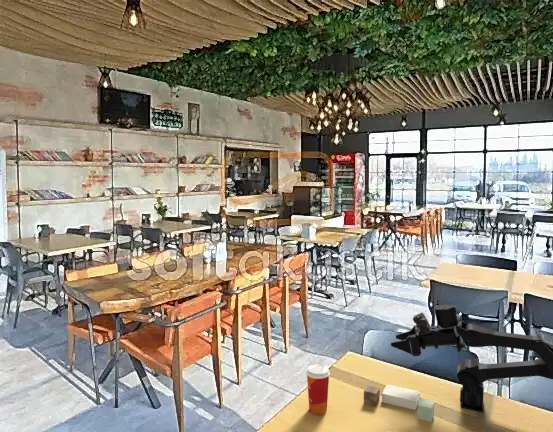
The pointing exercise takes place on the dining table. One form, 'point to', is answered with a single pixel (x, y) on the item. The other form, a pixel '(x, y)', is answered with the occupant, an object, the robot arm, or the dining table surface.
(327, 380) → the paper cup
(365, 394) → the walnut cube
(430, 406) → the sage cube
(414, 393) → the base slab
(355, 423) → the dining table surface
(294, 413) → the dining table surface
